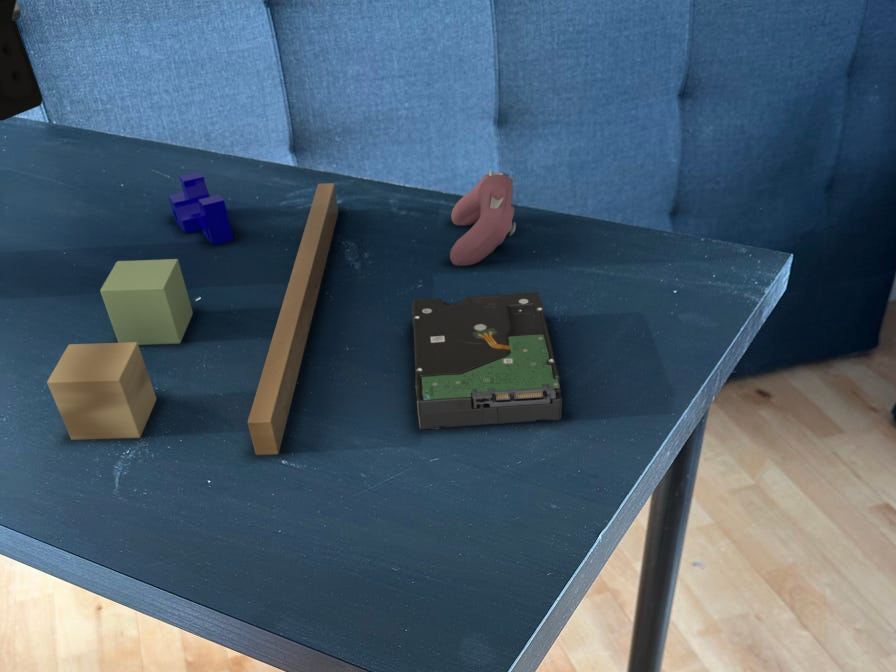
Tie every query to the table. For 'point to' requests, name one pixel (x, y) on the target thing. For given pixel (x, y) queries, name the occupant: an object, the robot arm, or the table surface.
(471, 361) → the disk drive
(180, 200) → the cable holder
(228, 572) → the table surface
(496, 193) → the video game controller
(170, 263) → the sage block
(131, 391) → the maple block
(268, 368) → the rail
